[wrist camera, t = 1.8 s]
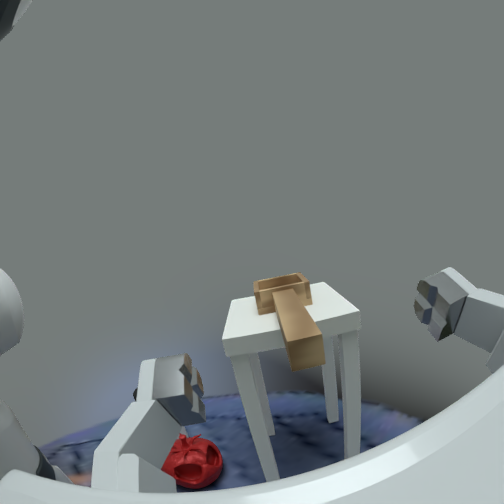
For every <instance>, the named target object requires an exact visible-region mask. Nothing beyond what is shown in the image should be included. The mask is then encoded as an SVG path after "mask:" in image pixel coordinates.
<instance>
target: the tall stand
mask: <svg viewBox="0 0 504 504" xmlns="http://www.w3.org/2000/svg"><path fill="white" fill-rule="evenodd" d="M310 290H311V296H312V303H313V304H312V305H308V306H305V308H306V310H307V311H308V313H309V314H310V316H311V317H312V319H313V320H314V322H315V324H316V325H317V327H318V328H319V330H320V331H321V333H322V337H323V345H324V353H325V362H326V364H324V365H322V372H323V381H324V390H325V401H326V412H327V419H328V422H329V423H332V422H336V421H339V416H338V399H337V386H336V373H335V362H334V352H333V342H332V336H334V335H338V344H339V356H340V368H341V382H342V398H343V419H344V460H345V459H348V458H351V457H353V456H356V455H358V454H360V431H361V386H360V361H359V360H360V359H359V343H358V329H361V322H360V310H358V309H357V308H356V307H354V306H353V305H352V304H351V303H350V302H348V301H347V300H346V299H345V298H343V297H342V296H341V295H340V294H338V293H337V292H336V291H335V290H333V289H332V288H331V287H330V286H328V285H327V284H326V283H325V282H320V283H316V284H312V285H310ZM222 341H223V346H224V349H225V353H226V357H230V358H231V363H232V366H233V370H234V374H235V377H236V381H237V385H238V389H239V392H240V396H241V400H242V403H243V407H244V410H245V414H246V417H247V421H248V424H249V427H250V431H251V434H252V437H253V441H254V444H255V447H256V450H257V454H258V457H259V460H260V463H261V466H262V469H263V472H264V475H265V479H266V482H271V481H275V480H279V479H280V476H279V472H278V468H277V465H276V461H275V457H274V453H273V449H272V445H271V442H270V438H269V436H271V435H275V429H274V424H273V420H272V416H271V411H270V407H269V403H268V398H267V394H266V389H265V385H264V381H263V376H262V372H261V367H260V362H259V358H258V353H257V352H261V351H266V350H271V349H277V348H282V347H285V344H284V340H283V336H282V333H281V329H280V326H279V322H278V318H277V315H276V312H274V313H269V314H264V315H259V314H258V310H257V305H256V300H255V296H252V297H247V298H241V299H236V300H232V302H231V306H230V310H229V314H228V318H227V322H226V326H225V330H224V333H223V337H222Z"/></svg>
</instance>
